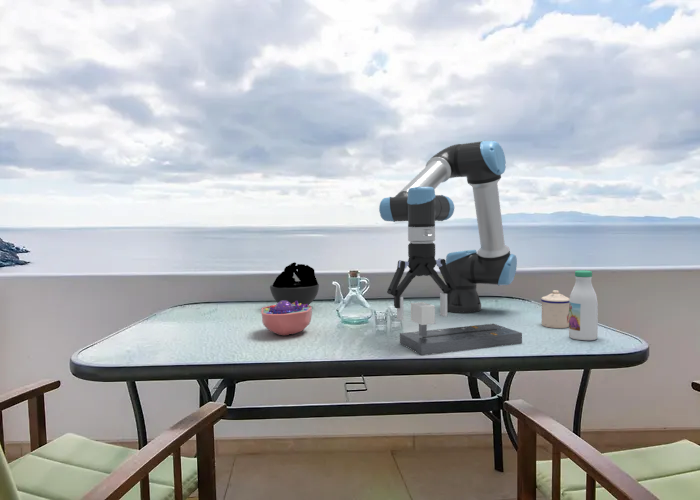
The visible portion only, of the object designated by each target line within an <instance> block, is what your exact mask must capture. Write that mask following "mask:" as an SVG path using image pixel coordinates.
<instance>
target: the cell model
mask: <svg viewBox="0 0 700 500" xmlns="http://www.w3.org/2000/svg"><path fill="white" fill-rule="evenodd" d="M260 310H261V312H260V314H261V322H262V325H263V326H264V327H265V328H266V330H268V331H269V332H271V333H275V334H277V335H279V336H290V335H289V334H292V335H295V334H299V333H300V332H302V331H304V330H305V329H306V328H307V327H308V326H309V325H310V324H311V322H312V314H313V308H312V306H311V305H310V304H309V305H308V304H301V303H300V304H298V301H295V303H292V304H291V303H290V302H288V301H280V302H279V303H277V302H276V304H271V305H268V306H263V307H262V308H261V309H260Z"/></svg>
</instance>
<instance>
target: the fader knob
mask: <svg viewBox="0 0 700 500" xmlns="http://www.w3.org/2000/svg"><path fill="white" fill-rule="evenodd" d="M410 321H412V322H414V323H416V324H418V331H419V335H420V336H427V327H428V326H427V325H435V324H436V305H434V304H431V303H427V302H424V301H422V302H410Z"/></svg>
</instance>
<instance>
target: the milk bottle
mask: <svg viewBox="0 0 700 500" xmlns="http://www.w3.org/2000/svg"><path fill="white" fill-rule="evenodd" d="M574 279H575V283H574V286H573V288H572V291H571V292H570V294H569V298H570V299H569V327H568V336H569V338H571V339H573V340H578V341H594V340H595V341H596V340H597V339H598V335H599V334H598V331H599V330H598V327H599V324H598V323H599V322H598V319H599V310H598V309H599V305H598V295H597V293H596V290H595V289H594V286H593V282H592V279H593V271H592V270H586V269H585V270H581V269H580V270H575V271H574Z"/></svg>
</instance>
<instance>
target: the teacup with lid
mask: <svg viewBox="0 0 700 500" xmlns="http://www.w3.org/2000/svg"><path fill="white" fill-rule="evenodd" d="M569 299H570V297H568V296H565V295H564V294H561V293H560V290H557V289H556V290H555V289H554V290H552V293H549V294H547V295H544V296H542V297H541V298H540V300H541V326H543V327H546V328H550V329H566V328H569Z"/></svg>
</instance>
